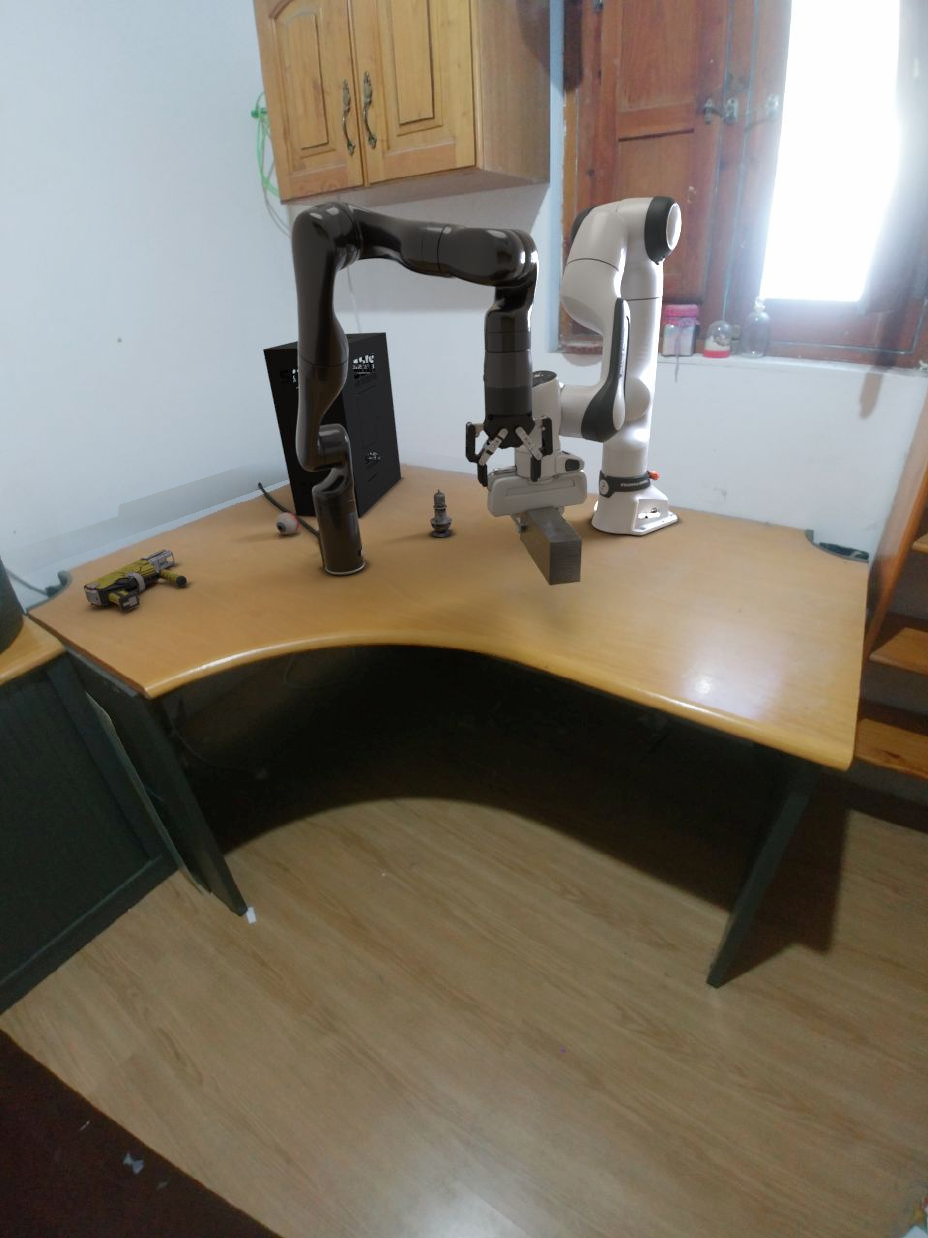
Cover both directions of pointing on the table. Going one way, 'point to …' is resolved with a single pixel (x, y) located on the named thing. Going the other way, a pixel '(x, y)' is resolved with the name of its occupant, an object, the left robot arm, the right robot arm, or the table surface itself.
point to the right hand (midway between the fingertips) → (537, 529)
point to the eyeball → (287, 523)
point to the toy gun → (132, 581)
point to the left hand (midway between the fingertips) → (509, 483)
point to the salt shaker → (440, 517)
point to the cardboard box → (342, 420)
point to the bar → (552, 545)
